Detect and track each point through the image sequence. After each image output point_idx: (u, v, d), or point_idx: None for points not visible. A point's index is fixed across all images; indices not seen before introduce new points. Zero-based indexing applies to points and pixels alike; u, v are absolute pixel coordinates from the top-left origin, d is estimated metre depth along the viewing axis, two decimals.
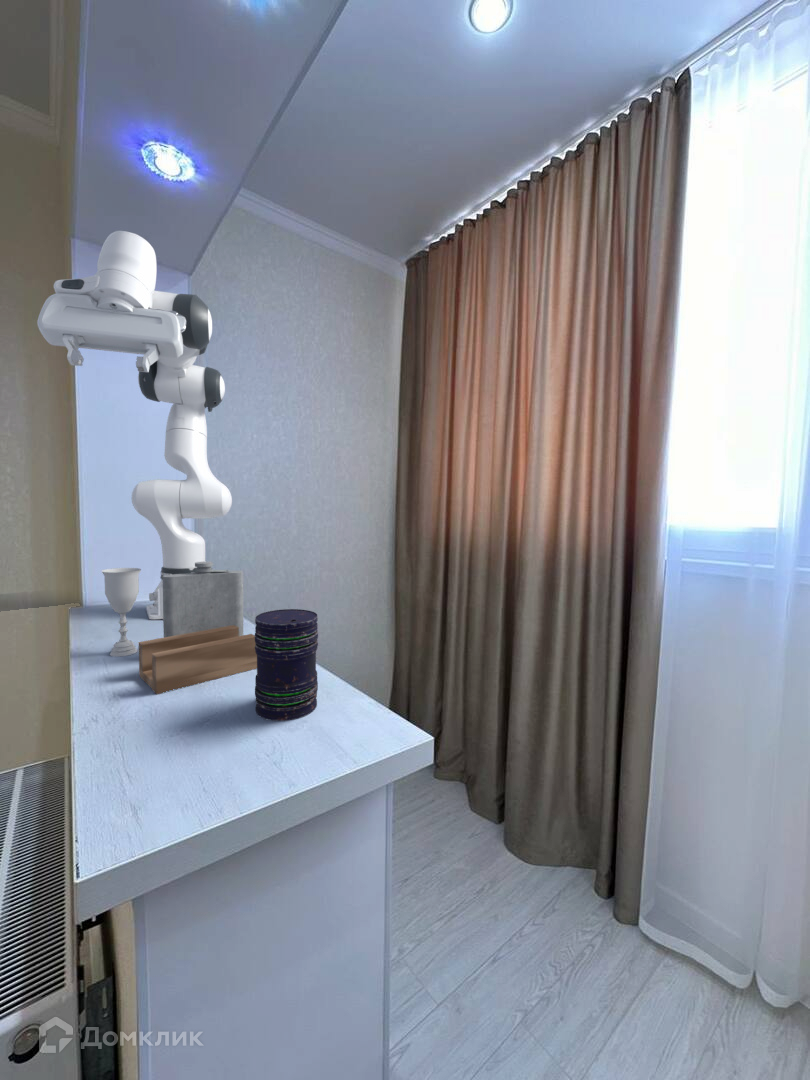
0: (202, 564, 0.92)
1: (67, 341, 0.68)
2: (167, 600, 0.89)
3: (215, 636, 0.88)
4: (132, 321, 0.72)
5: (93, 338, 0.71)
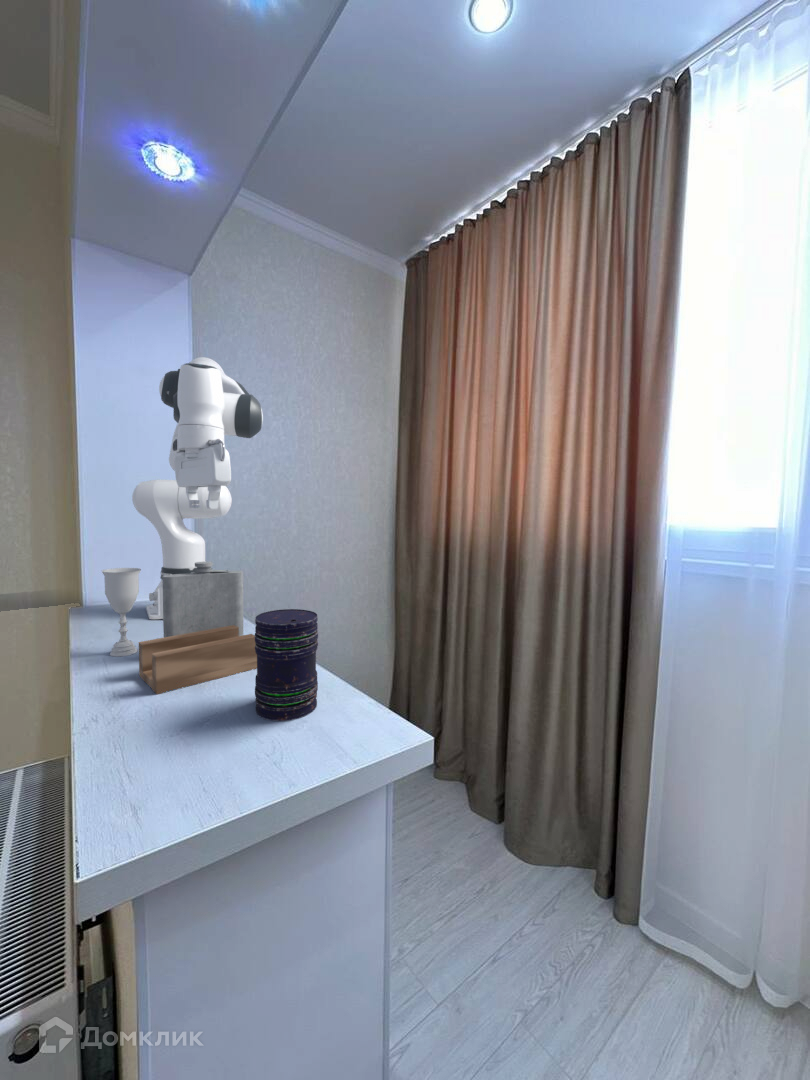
0: (202, 564, 0.92)
1: (187, 493, 0.95)
2: (167, 601, 0.89)
3: (215, 636, 0.88)
4: (199, 466, 0.88)
5: None
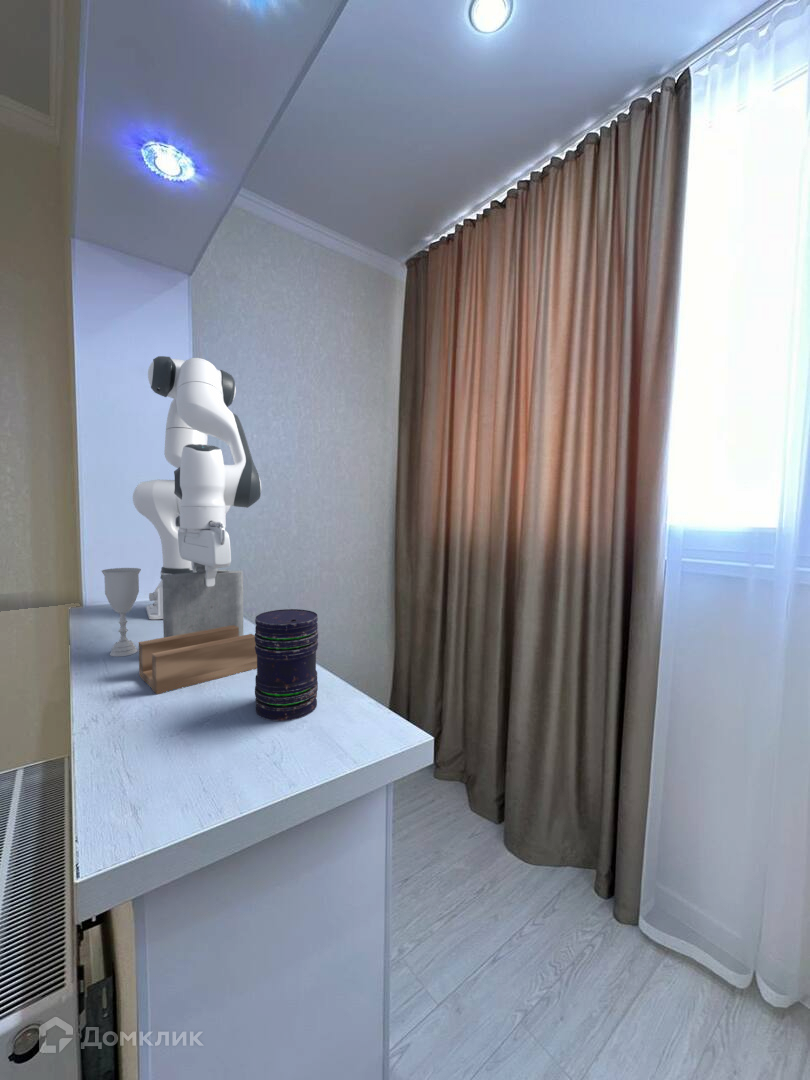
0: None
1: (192, 567, 0.96)
2: (167, 600, 0.89)
3: (215, 636, 0.88)
4: (200, 546, 0.90)
5: None
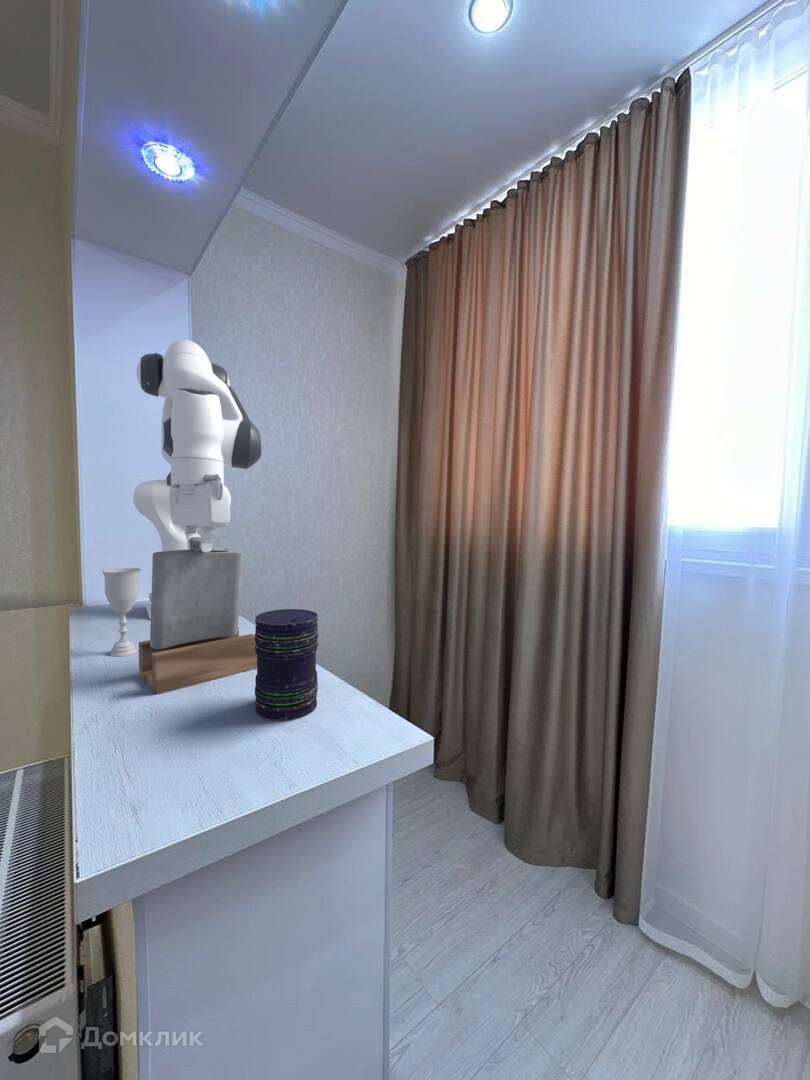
0: None
1: (185, 532, 0.83)
2: (158, 583, 0.76)
3: None
4: (194, 505, 0.78)
5: None
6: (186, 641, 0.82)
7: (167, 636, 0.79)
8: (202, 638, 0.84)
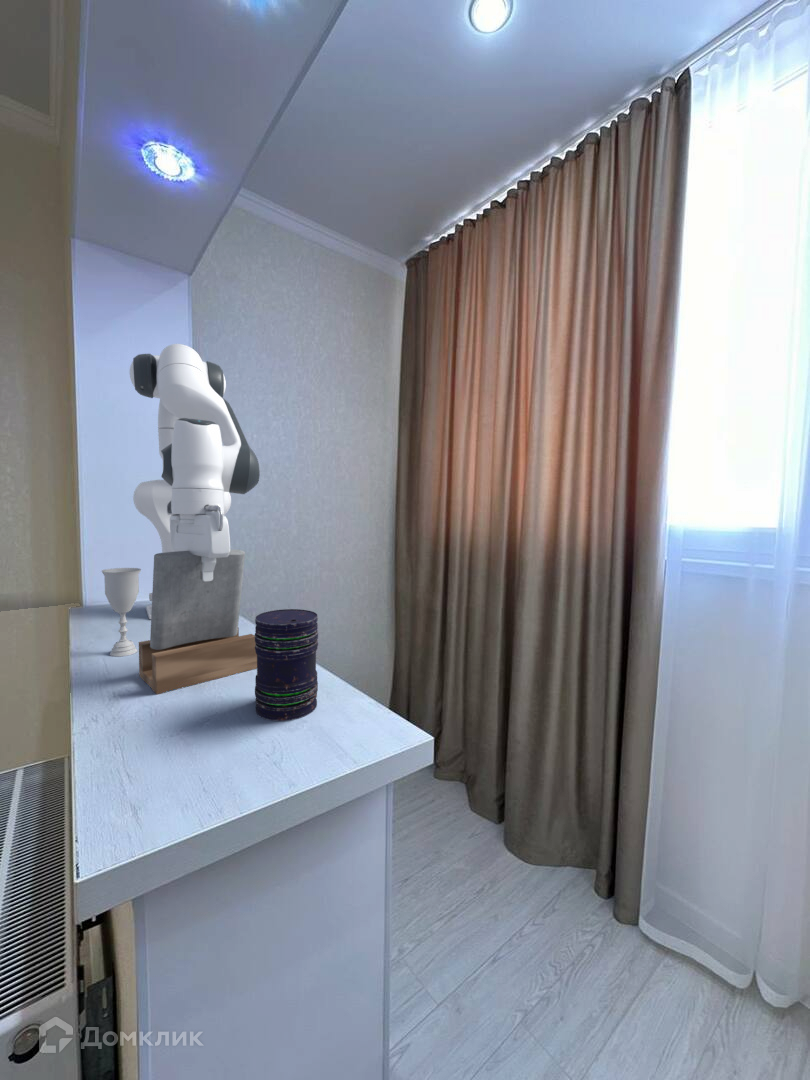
0: None
1: None
2: (159, 585, 0.76)
3: None
4: (195, 534, 0.78)
5: None
6: (186, 642, 0.82)
7: (167, 637, 0.79)
8: (202, 639, 0.84)
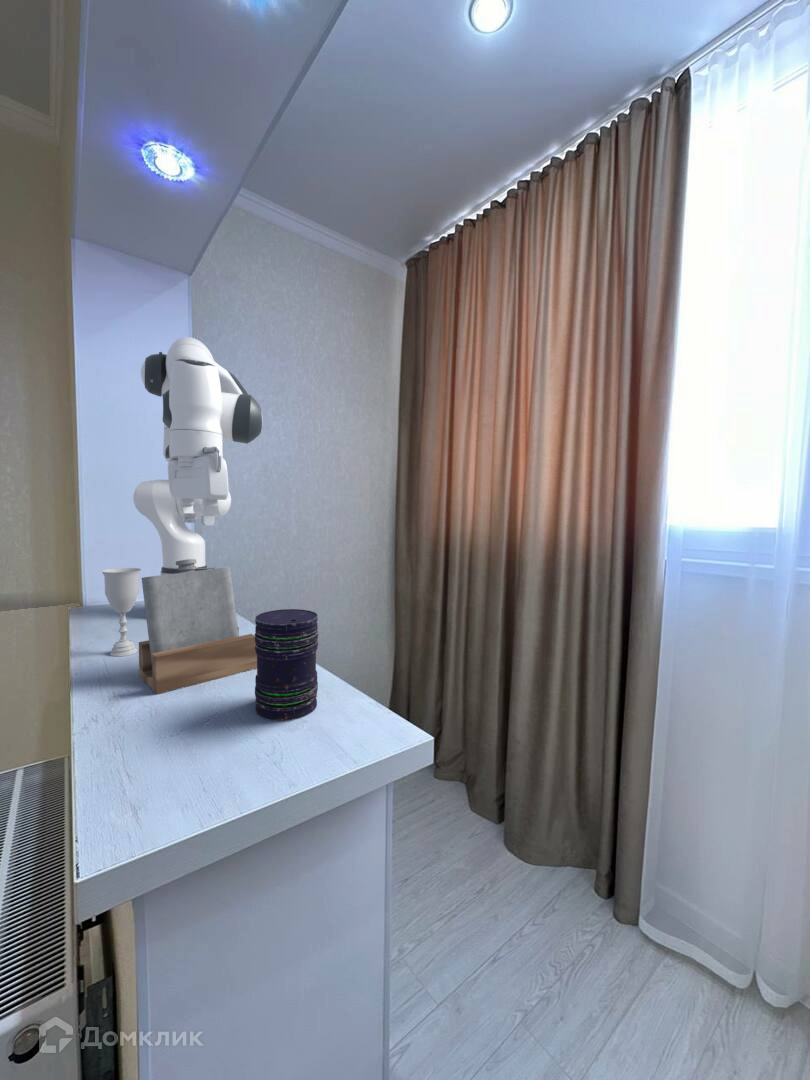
0: (185, 560, 0.83)
1: (181, 505, 0.85)
2: (151, 604, 0.78)
3: None
4: (193, 477, 0.78)
5: None
6: None
7: None
8: None
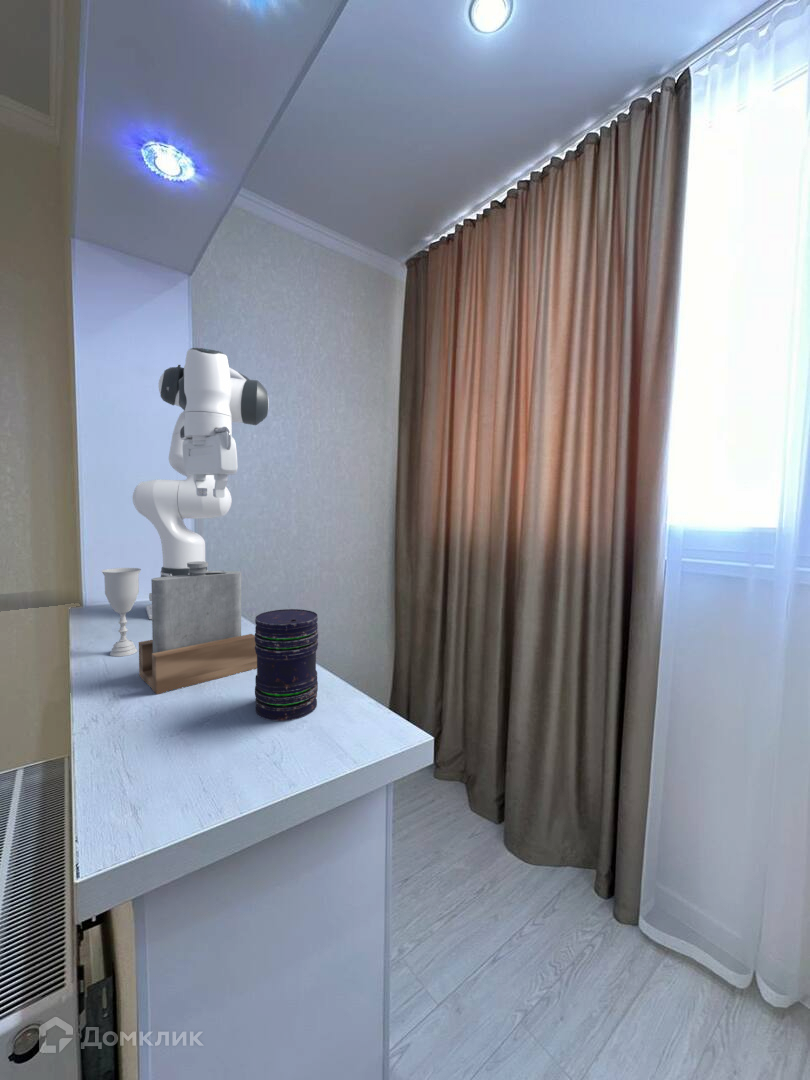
0: (197, 564, 0.81)
1: (194, 481, 0.94)
2: (158, 608, 0.76)
3: None
4: (205, 454, 0.87)
5: None
6: None
7: None
8: None
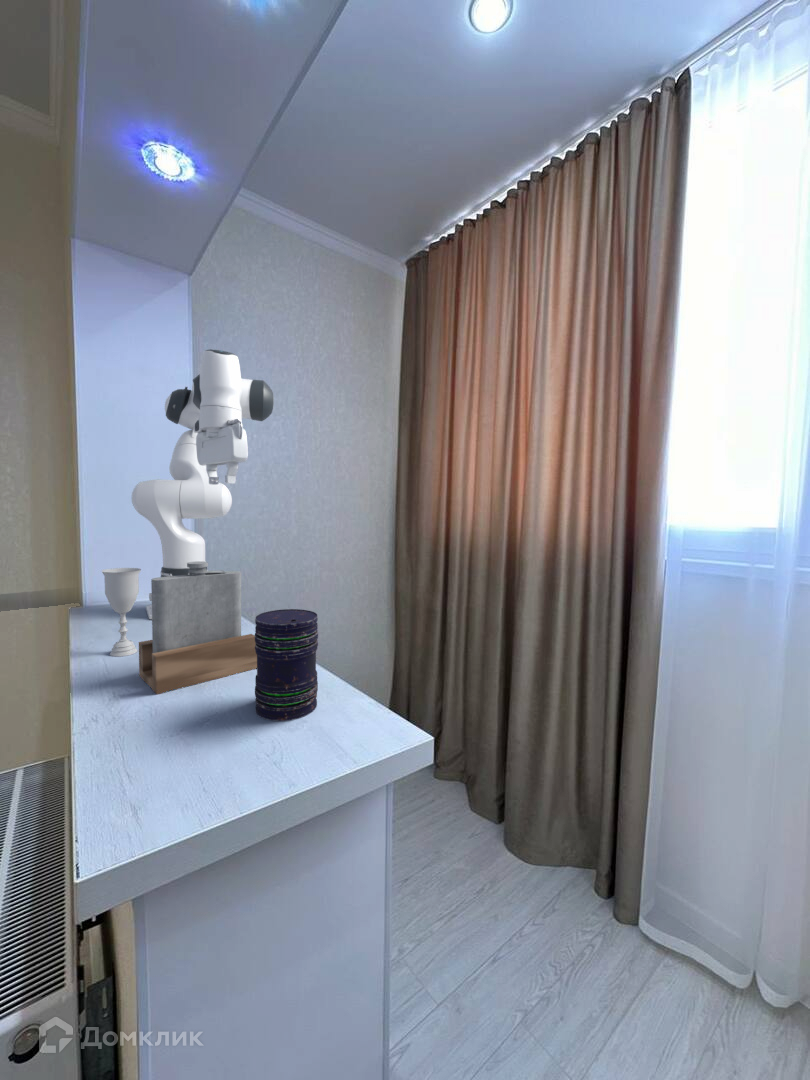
0: (197, 564, 0.81)
1: (207, 470, 1.03)
2: (158, 608, 0.76)
3: None
4: (218, 445, 0.96)
5: None
6: None
7: None
8: None
